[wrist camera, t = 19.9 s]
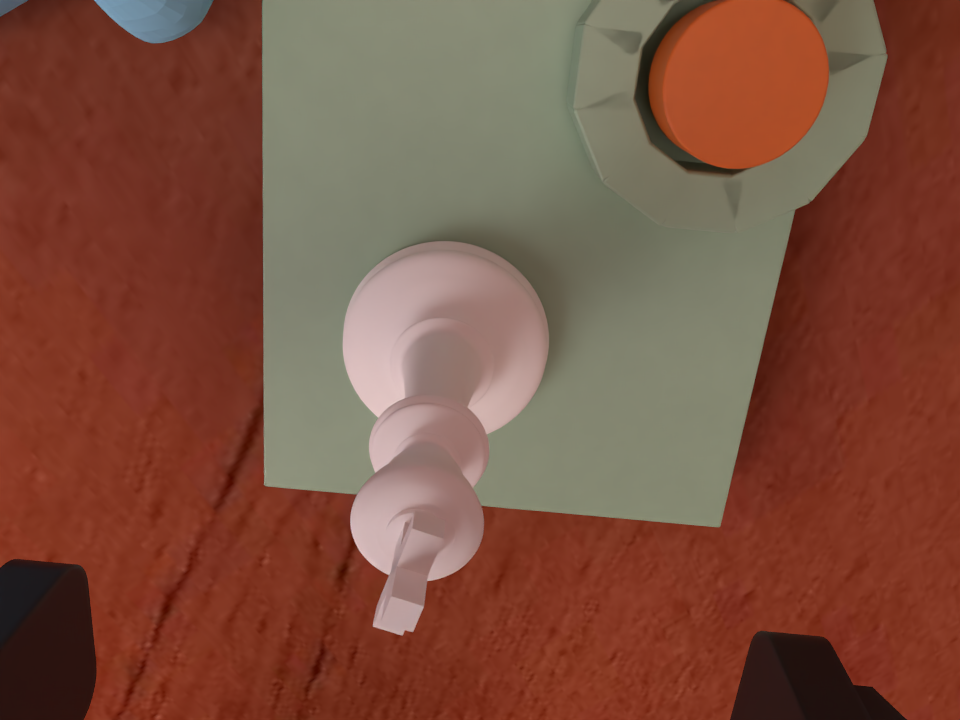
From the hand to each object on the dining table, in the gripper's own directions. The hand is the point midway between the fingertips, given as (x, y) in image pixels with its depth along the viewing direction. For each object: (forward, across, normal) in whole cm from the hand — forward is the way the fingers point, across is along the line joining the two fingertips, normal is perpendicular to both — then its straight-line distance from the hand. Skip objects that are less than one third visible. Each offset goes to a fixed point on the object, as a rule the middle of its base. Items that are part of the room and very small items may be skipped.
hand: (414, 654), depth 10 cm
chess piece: (+11, 0, 0) cm, 11 cm away
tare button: (+9, -5, -7) cm, 12 cm away
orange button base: (+12, -1, -3) cm, 13 cm away
